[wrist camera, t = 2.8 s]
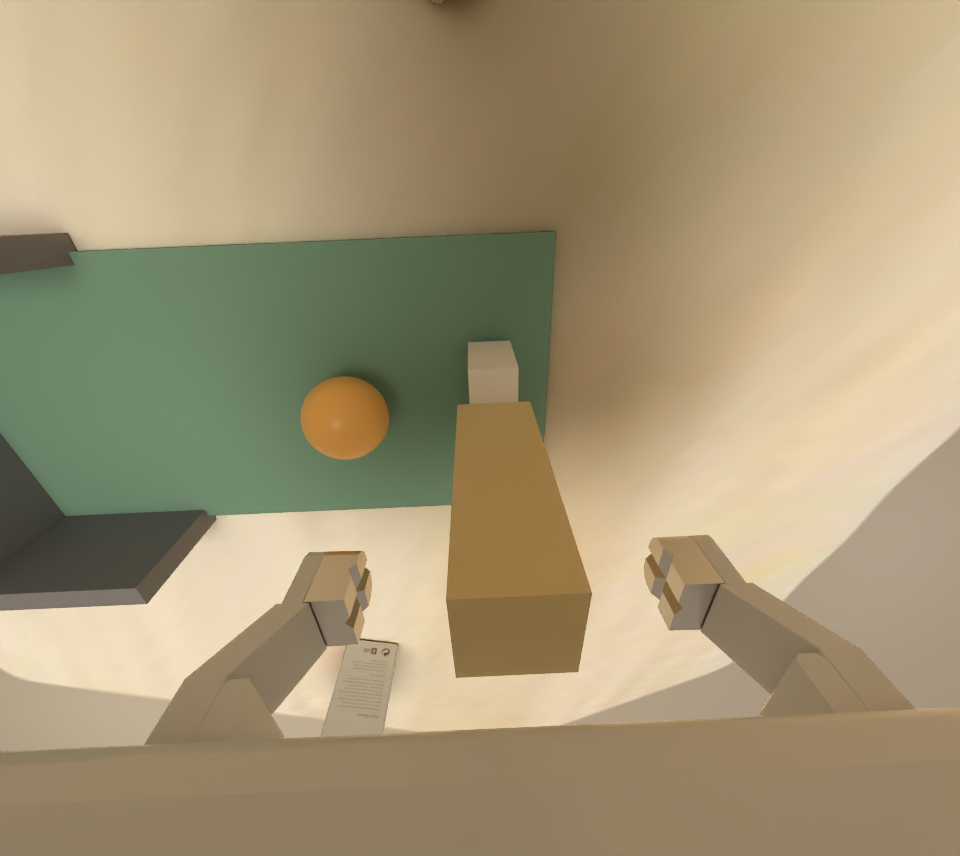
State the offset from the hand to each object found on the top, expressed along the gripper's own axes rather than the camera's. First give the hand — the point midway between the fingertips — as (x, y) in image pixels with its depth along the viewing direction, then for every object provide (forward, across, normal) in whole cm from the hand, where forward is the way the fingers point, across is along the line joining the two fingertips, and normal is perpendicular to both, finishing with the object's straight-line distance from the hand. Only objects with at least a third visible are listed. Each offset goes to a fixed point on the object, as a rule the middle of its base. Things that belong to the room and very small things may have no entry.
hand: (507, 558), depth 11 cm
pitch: (+11, +12, 0) cm, 17 cm away
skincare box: (+12, +11, +25) cm, 29 cm away
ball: (+9, +7, 0) cm, 11 cm away
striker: (+11, 0, 0) cm, 11 cm away
